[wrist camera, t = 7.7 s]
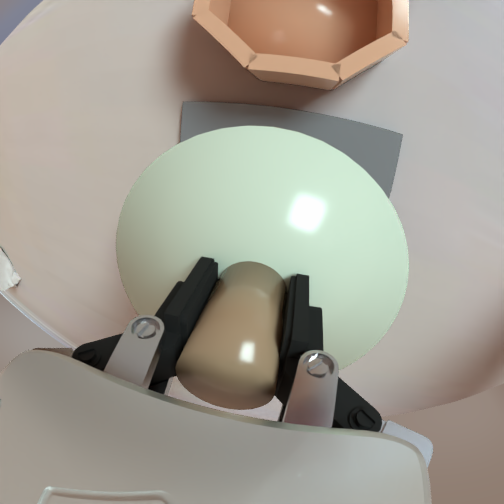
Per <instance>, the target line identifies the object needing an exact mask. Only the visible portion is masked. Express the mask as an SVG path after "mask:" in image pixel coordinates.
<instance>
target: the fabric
mask: <svg viewBox="0 0 504 504" xmlns="http://www.w3.org/2000/svg"><path fill="white" fill-rule="evenodd" d="M20 279H21V278H20V276H19V275H18V274H17V272H15V269H14V267H13V265H12V263H11V261H10V260H9V258H8V257H7V256H6V254H5V253H4V252H3V251H2V249H1V247H0V289H1V291H4V290H7V289H8V288H11V287H15V288H17V286H16V284H18V283H19V281H20Z"/></svg>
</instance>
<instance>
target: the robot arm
mask: <svg viewBox="0 0 504 504" xmlns="http://www.w3.org/2000/svg"><path fill="white" fill-rule="evenodd" d="M217 280H218V263H217V262H215V261H214V258H208V257H203V256H201V258H200V259H199V260H198V262H197V263H196V265H195V266H194V268H193V269H192V271H191V272H190V274H189V275H188V277H187V278H186V280H185V281H184V282H183V281H178V282H177V283H176V285H175V286H174V287H173V289H172V290H171V292H170V293H169V295H168V296H167V298H166V299H165V300H164V302H163V303H162V305H161V306H160V308H159V309H158V311H157V312H156V314H155V315H154V316H152V315H141V316H138V317H135V318H134V319H133V320H131V321H130V323H129V324H128V326H127V327H126V329H125V331H124V333H123V334H119V335H115V336H112V337H108V338H105V339H101V340H97V341H94V342H90V343H86V344H83V345H81V346H79V347H78V348H77V349H76V350H75V351H73V349H72V348H35V349H32V350H28V351H24V352H22V353H21V354H19V355H18V356H17V357H15V358H14V359H13V360H12V361H11V362H10V363H9V364H8V365H7V366H6V367H5V368H4V370H3V371H2V372H1V373H0V504H432V502H431V489H430V481H429V475H428V470H427V468H428V465H429V462H430V460H431V457H432V453H433V445H432V443H431V441H430V440H429V439H428V438H427V437H425V436H423V435H421V434H418V433H416V432H414V431H412V430H409V429H407V428H405V427H403V426H401V425H399V424H396V423H394V422H392V421H390V420H388V421H387V422H386V421H384V420H382V419H381V416H380V414H379V412H378V411H377V410H376V409H375V408H374V407H372V406H371V405H370V404H369V403H368V402H367V401H365V400H364V399H363V398H362V397H361V396H360V395H359V394H357V393H356V392H355V391H354V390H353V389H352V388H351V387H349V386H348V385H347V384H346V383H345V382H344V381H343V380H341V379H340V378H339V377H338V373H339V366H338V363H337V361H336V359H335V358H334V357H333V356H332V355H330V354H329V353H327V352H324V348H323V316H322V308H321V307H314V306H309V275H303V274H296V277H295V276H291V279H290V284H289V289H288V293H287V302H286V310H285V318H284V326H283V334H282V341H281V349H280V356H279V370H278V377H277V383H276V390H275V395H274V396H276V397H277V398H278V399H279V401H280V402H281V403H282V407H281V410H280V414H279V417H278V420H277V421H270V420H264V419H258V418H253V417H248V416H243V415H238V414H233V413H229V412H224V411H220V410H216V409H212V408H208V407H204V406H200V405H197V404H193V403H189V402H186V401H183V400H179V399H176V398H173V397H170V396H168V393H169V390H170V387H171V383H172V380H173V377H174V376H177V375H176V370H175V368H176V364H177V361H178V359H179V357H180V355H181V353H182V351H183V349H184V347H185V345H186V343H187V341H188V339H189V337H190V335H191V333H192V331H193V329H194V326H195V324H196V322H197V320H198V318H199V316H200V314H201V312H202V310H203V308H204V306H205V304H206V302H207V300H208V298H209V296H210V294H211V292H212V290H213V288H214V286H215V284H216V282H217Z"/></svg>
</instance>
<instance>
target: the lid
mask: <svg viewBox="0 0 504 504" xmlns="http://www.w3.org/2000/svg"><path fill="white" fill-rule="evenodd" d="M116 254H117V263H118V268H119V272H120V276H121V280H122V283H123V286H124V288H125V291H126V293H127V295H128V297H129V299H130V301H131V303H132V305H133V307H134V309H135V310H136V312H137V313H138V315H139V316H141V315H152V316H154V315H155V314H156V312H157V311H158V309H159V308H160V306H161V305H162V303H163V302H164V300H165V299H166V298H167V296H168V295H169V293H170V292H171V290H172V289H173V287H174V286H175V285H176V283H177V282H178V281H183V282H184V281H185V280H186V278H187V277H188V275H189V274H190V272H191V271H192V269H193V268H194V266H195V265H196V263H197V262H198V260H199V259H200V258H201V256H203V257H208V258H214V261H215V262H217V263H218V280H217V282H216V284H215V286H214V288H213V290H212V292H211V294H210V296H209V298H208V300H207V302H206V304H205V306H204V308H203V310H202V312H201V314H200V316H199V318H198V320H197V322H196V324H195V326H194V329H193V331H192V333H191V335H190V337H189V339H188V341H187V343H186V345H185V347H184V349H183V351H182V353H181V355H180V357H179V359H178V361H177V364H176V368H175V370H176V375H177V377H178V379H179V381H180V383H181V384H182V385H183V386H184V387H185V388H186V389H187V390H188V391H189V392H190V393H192V394H193V395H195V396H196V397H198V398H200V399H201V400H203V401H205V402H208V403H210V404H213V405H216V406H219V407H223V408H228V409H237V410H246V409H254V408H258V407H261V406H263V405H265V404H267V403H268V402H270V401H271V400H272V398H273V397H274V395H275V390H276V383H277V377H278V370H279V356H280V349H281V341H282V334H283V326H284V318H285V310H286V302H287V293H288V289H289V284H290V279H291V276H295V277H296V274H303V275H309V306H314V307H321V308H322V316H323V348H324V352H327V353H329V354H330V355H332V356H333V357H334V358H335V359H336V361H337V363H338V366H339V370H341V369H343V368H345V367H347V366H348V365H350V364H352V363H354V362H355V361H357V360H358V359H359V358H361V357H362V356H363V355H365V354H366V353H367V352H368V351H370V350H371V349H372V348H373V347H374V346H375V345H376V344H377V343H378V342H379V341H380V340H381V338H382V337H383V336H384V335H385V333H386V332H387V331H388V330H389V328H390V326H391V325H392V323H393V321H394V320H395V318H396V316H397V314H398V312H399V310H400V307H401V305H402V302H403V299H404V295H405V291H406V287H407V282H408V271H409V260H408V248H407V243H406V239H405V235H404V231H403V227H402V225H401V222H400V220H399V218H398V215H397V213H396V211H395V209H394V207H393V205H392V204H391V202H390V200H389V199H388V197H387V196H386V194H385V193H384V191H383V190H382V188H381V187H380V186H379V185H378V184H377V183H376V182H375V180H374V179H373V178H372V177H371V176H370V175H369V174H368V173H367V172H366V171H365V170H364V169H363V168H362V167H361V166H359V165H358V164H357V163H356V162H355V161H353V160H352V159H351V158H349V157H348V156H347V155H346V154H344V153H343V152H341V151H340V150H338V149H336V148H334V147H333V146H331V145H329V144H327V143H326V142H324V141H322V140H319V139H317V138H314V137H312V136H309V135H306V134H304V133H301V132H298V131H293V130H289V129H284V128H279V127H273V126H254V125H248V126H238V127H229V128H222V129H218V130H214V131H210V132H206V133H203V134H199V135H197V136H194V137H192V138H190V139H188V140H185V141H183V142H181V143H179V144H177V145H175V146H174V147H172V148H171V149H169V150H168V151H166V152H165V153H163V154H162V155H161V156H159V157H158V158H157V159H156V160H155V161H154V162H153V163H152V164H151V165H150V166H148V167H147V168H146V169H145V170H144V172H143V173H142V174H141V176H140V177H139V178H138V180H137V181H136V182H135V183H134V185H133V187H132V189H131V190H130V192H129V194H128V196H127V198H126V200H125V202H124V205H123V208H122V211H121V214H120V217H119V222H118V228H117V235H116Z"/></svg>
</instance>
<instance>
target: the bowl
mask: <svg viewBox="0 0 504 504" xmlns="http://www.w3.org/2000/svg"><path fill="white" fill-rule="evenodd" d="M192 16H194V17H193V19H194V20H196V21H197V22H198V23H199V24H200V25H201V26H202V27H203V28H205V29H206V30H207V31H208V32H209V33H210V34H211V35H212V36H213V37H214V38H215V39H216V40H217V41H218V42H220V43H221V44H222V45H223V46H224V47H225V48H226V49H227V50H228V51H229V52H230V53H231V54H232V55H233V56H234V57H235V58H236V59H237V60H238V61H239V62H240V64H241V65H242V66H243V67H244V68H246V69H247V70H248V71H249V72H251V73H252V74H253V75H254V76H255V77H257V78H258V79H260V80H262V81H268V82H278V83H286V84H294V85H301V86H307V87H313V88H319V89H325V90H331V89H333V90H334V89H336V88H337V87H339V86H340V85H342V84H344V83H345V82H347V81H348V80H350V79H352V78H353V77H355V76H357V75H358V74H360V73H362V72H363V71H365V70H367V69H368V68H370V67H372V66H374V65H375V64H377V63H379V62H381V61H382V60H384V59H386V58H387V57H389V56H390V55H392V54H393V53H395V52H396V51H398V50H399V49H401V48H402V47H404V46H405V45H407V44H406V43H407V42H408V37H409V3H408V0H194V5H193V11H192Z"/></svg>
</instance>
